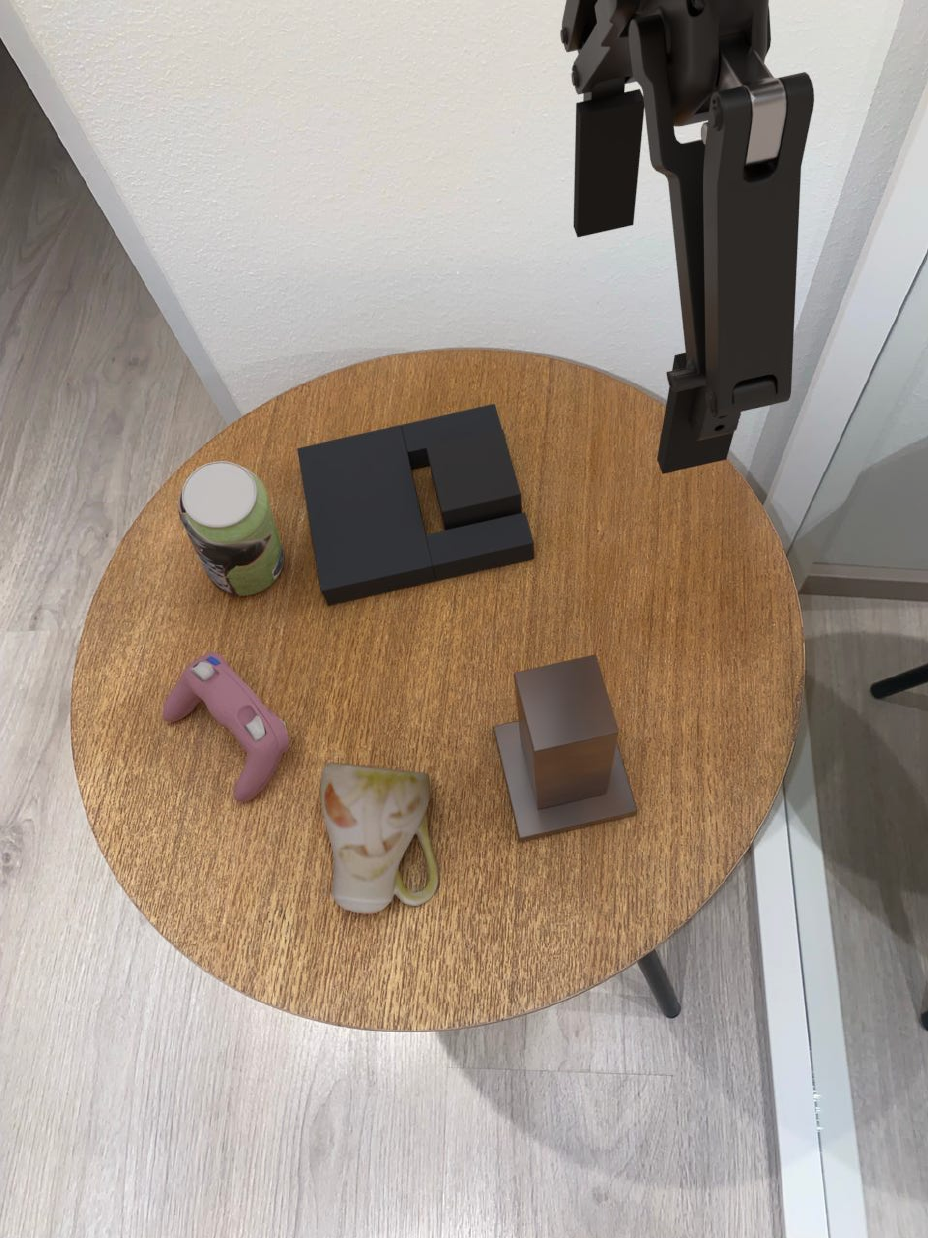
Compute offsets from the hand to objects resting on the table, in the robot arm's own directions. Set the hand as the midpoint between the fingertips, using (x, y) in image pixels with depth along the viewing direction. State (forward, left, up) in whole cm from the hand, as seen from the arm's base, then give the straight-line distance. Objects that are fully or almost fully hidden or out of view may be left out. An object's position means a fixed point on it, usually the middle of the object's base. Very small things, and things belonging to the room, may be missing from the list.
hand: (644, 335), depth 43 cm
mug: (+19, +12, -31) cm, 38 cm away
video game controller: (+28, +2, -31) cm, 42 cm away
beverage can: (+25, -11, -31) cm, 41 cm away
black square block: (+7, -13, -31) cm, 34 cm away
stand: (+6, +10, -31) cm, 33 cm away
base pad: (+12, -13, -31) cm, 35 cm away
